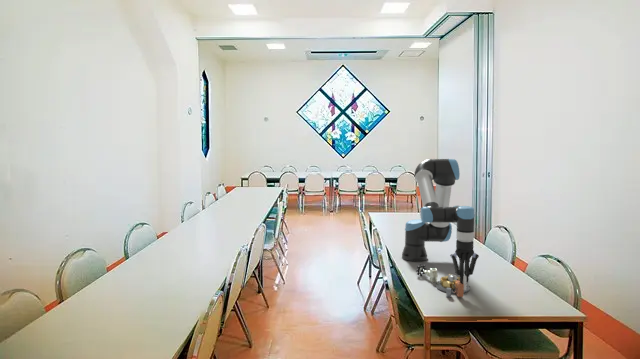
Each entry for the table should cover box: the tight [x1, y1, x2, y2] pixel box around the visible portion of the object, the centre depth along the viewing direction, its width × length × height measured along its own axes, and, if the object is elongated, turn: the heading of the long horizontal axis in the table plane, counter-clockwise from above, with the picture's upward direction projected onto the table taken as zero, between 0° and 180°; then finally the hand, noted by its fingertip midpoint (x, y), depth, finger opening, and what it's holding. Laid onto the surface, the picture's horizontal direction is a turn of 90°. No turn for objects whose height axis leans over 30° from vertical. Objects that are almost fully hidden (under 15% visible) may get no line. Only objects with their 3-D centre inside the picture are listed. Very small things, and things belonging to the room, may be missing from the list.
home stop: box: [445, 288, 452, 299], centre depth 200 cm, size 2×2×4 cm
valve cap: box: [435, 273, 470, 295], centre depth 211 cm, size 16×16×6 cm
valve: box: [415, 263, 439, 283], centre depth 223 cm, size 7×7×12 cm
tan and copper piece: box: [439, 273, 465, 298], centre depth 206 cm, size 21×11×6 cm, turn 177°
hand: (463, 289), depth 199 cm, fingers closed
